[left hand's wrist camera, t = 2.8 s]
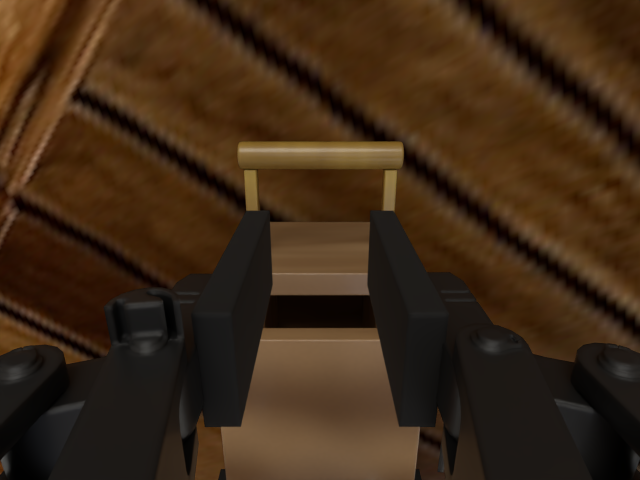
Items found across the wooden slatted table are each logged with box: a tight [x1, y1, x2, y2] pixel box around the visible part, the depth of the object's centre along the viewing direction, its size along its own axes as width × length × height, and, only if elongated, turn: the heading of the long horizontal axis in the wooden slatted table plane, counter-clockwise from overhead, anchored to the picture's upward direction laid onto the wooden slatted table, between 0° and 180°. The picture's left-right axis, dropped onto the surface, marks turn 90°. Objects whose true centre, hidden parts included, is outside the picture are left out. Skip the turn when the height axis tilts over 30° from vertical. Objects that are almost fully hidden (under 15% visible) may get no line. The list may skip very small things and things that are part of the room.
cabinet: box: [221, 328, 420, 480], centre depth 28 cm, size 19×10×10 cm, turn 0°
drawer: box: [237, 142, 404, 328], centre depth 26 cm, size 23×9×8 cm, turn 0°
